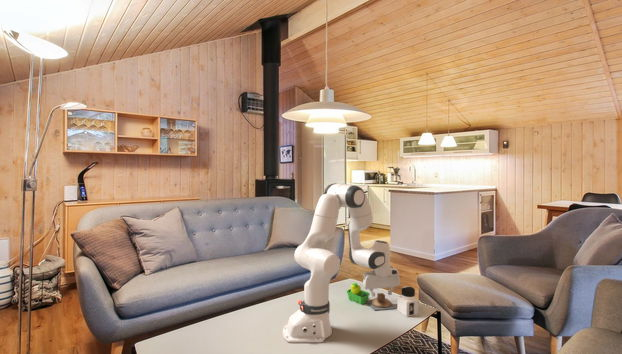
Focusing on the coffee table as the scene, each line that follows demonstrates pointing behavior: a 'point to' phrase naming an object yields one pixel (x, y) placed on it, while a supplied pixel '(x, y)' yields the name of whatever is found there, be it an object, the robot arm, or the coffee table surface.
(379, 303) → the lid
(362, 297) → the fruit basket
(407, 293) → the container
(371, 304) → the mat
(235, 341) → the coffee table surface
